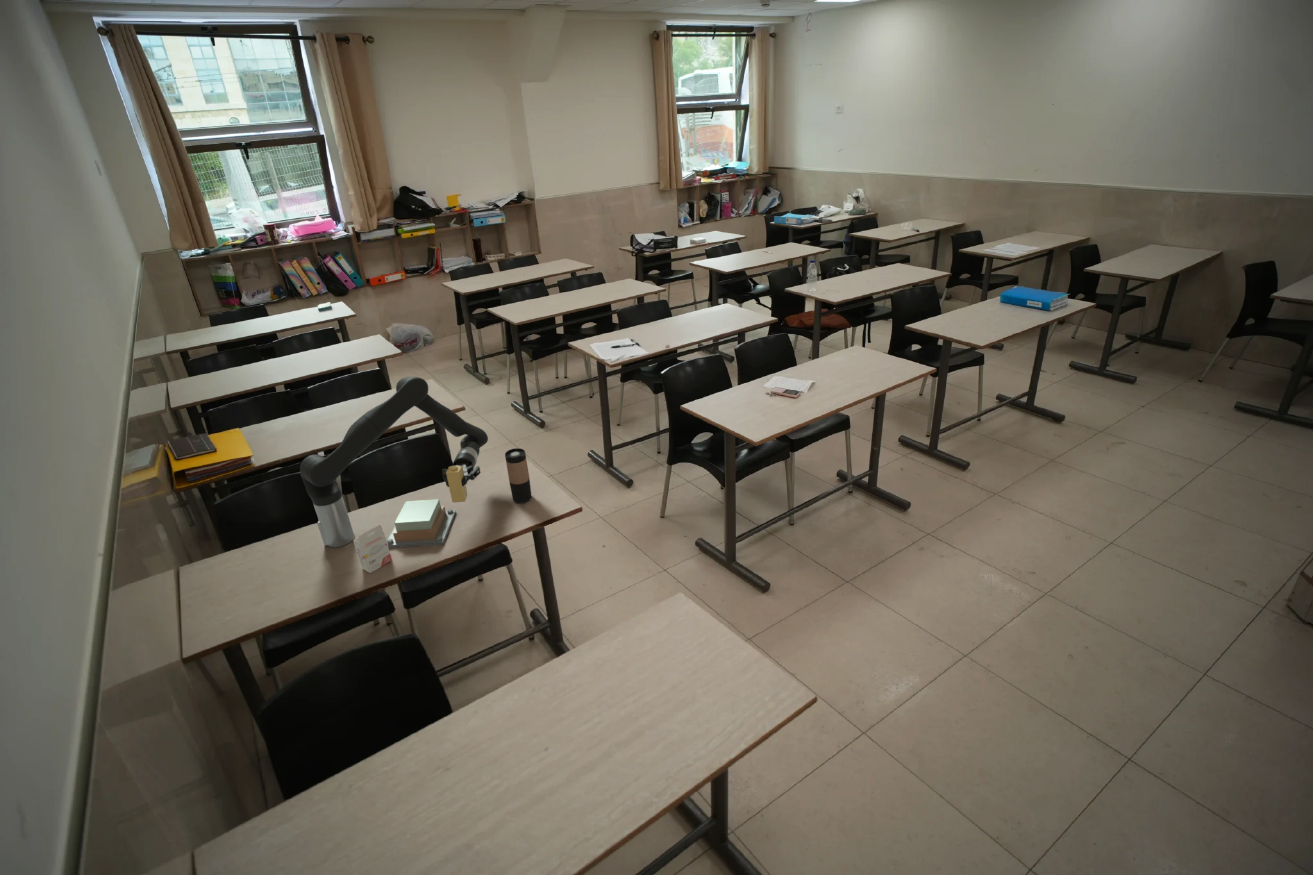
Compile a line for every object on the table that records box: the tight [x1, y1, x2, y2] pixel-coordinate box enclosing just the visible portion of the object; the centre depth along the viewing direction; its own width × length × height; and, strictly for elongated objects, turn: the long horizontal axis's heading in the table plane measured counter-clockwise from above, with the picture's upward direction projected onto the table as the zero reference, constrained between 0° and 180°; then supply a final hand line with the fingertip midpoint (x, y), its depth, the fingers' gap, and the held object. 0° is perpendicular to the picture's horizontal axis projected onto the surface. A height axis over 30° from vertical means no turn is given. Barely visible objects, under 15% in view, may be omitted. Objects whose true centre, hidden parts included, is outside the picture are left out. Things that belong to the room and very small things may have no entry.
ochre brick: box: [446, 465, 469, 503], centre depth 229 cm, size 4×4×13 cm
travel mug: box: [504, 447, 532, 504], centre depth 248 cm, size 8×8×20 cm
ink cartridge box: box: [352, 524, 393, 574], centre depth 216 cm, size 9×5×15 cm, turn 143°
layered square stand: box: [386, 498, 457, 549], centre depth 235 cm, size 20×20×8 cm
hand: (455, 484), depth 227 cm, fingers closed on ochre brick, 4 cm apart
